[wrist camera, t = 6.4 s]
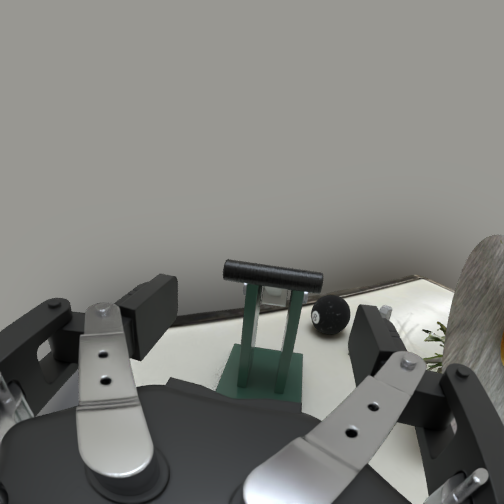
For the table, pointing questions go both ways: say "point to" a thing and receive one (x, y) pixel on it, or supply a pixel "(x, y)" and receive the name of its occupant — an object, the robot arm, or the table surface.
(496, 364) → the upside-down potted plant
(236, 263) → the switch lever
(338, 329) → the billiard ball
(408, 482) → the table surface
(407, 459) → the table surface
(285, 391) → the switch bracket
